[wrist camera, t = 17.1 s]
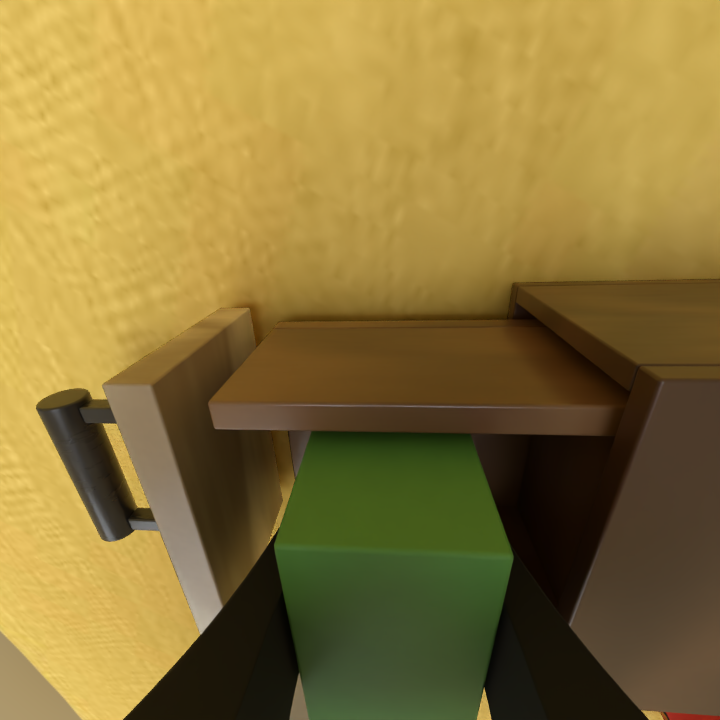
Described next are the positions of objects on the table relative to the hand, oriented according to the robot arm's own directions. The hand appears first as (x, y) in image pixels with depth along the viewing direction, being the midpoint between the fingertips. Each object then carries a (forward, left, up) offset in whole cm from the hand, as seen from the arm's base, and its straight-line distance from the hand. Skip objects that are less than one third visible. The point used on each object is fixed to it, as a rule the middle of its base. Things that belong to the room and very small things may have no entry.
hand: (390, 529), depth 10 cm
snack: (0, 0, -1) cm, 1 cm away
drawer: (-3, 0, -6) cm, 6 cm away
